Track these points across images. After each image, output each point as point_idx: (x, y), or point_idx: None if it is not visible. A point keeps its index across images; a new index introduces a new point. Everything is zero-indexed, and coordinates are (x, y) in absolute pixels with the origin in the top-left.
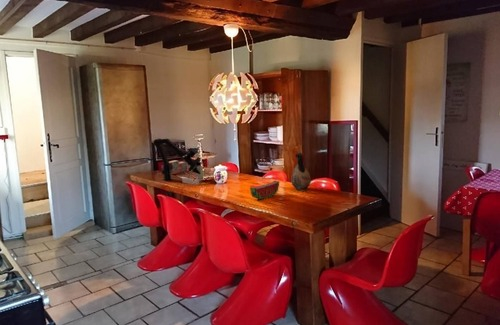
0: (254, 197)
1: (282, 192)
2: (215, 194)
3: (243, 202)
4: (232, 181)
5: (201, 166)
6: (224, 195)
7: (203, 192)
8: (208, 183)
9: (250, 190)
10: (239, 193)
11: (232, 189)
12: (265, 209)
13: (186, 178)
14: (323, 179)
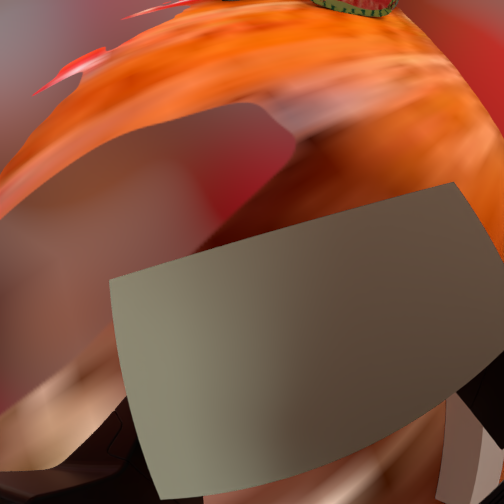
0: (383, 15)
1: (283, 2)
2: (448, 79)
3: (414, 32)
4: (197, 90)
5: (279, 242)
6: (426, 59)
7: (482, 122)
8: (351, 187)
9: (396, 1)
10: (371, 35)
11: (352, 49)
12: (404, 17)
13: (494, 446)
14: (129, 16)
